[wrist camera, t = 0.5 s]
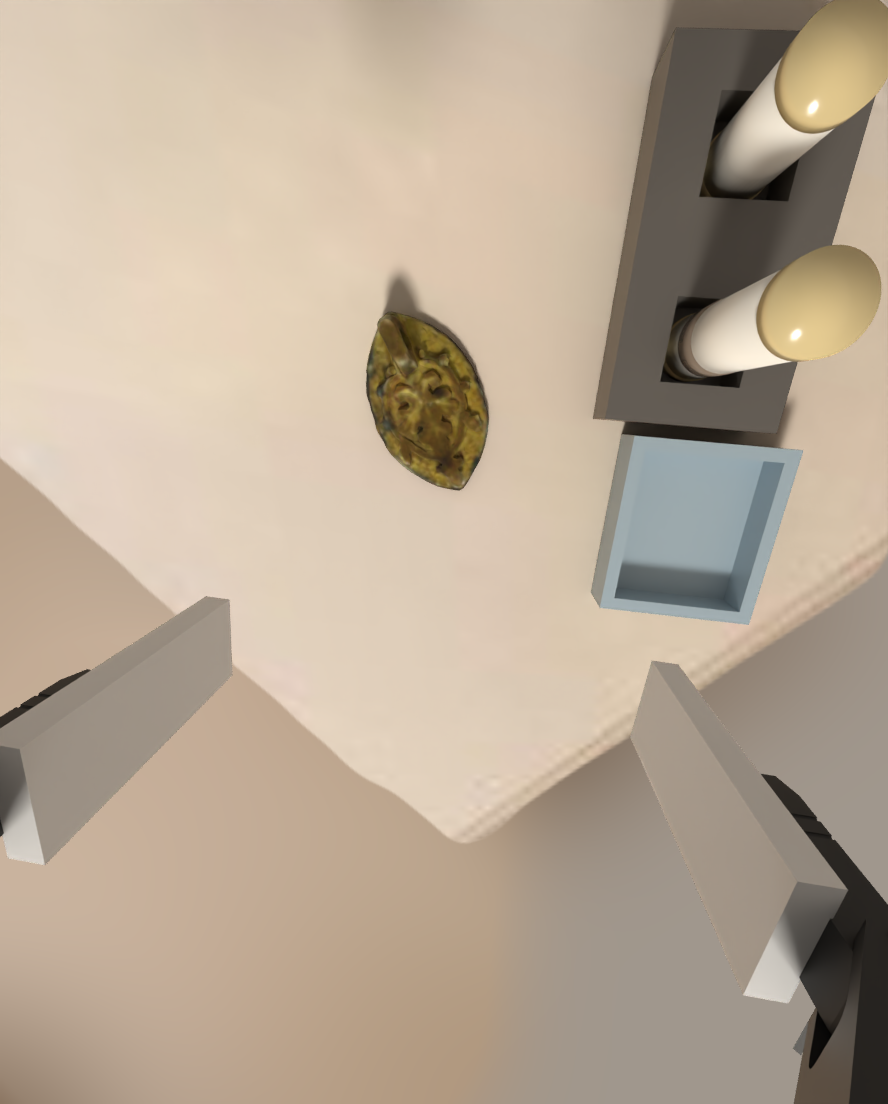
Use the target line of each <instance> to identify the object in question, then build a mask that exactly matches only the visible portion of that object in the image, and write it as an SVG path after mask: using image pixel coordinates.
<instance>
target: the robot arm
mask: <svg viewBox="0 0 888 1104" xmlns="http://www.w3.org/2000/svg"><path fill="white" fill-rule="evenodd" d="M231 676H232V653H231V628H230V603H229V600H228V599H221V598H214V597H207V596H206V597H204V598H203V599H201V600H200V601H198V602H197V603H195V604H194V605H192V606H190V607H189V608H187V609H186V610H184V611H183V612H181V613H180V614H178V615H176V616H175V617H173V618H172V619H170V620H169V621H167V622H166V623H164V624H162V625H161V626H159V627H158V628H156V629H155V630H153V631H151V632H150V633H148V634H147V635H145V636H144V637H142V638H141V639H139V640H138V641H136V642H134V643H133V644H132V645H130V646H128V647H127V648H125V649H123V650H122V651H120V652H119V653H117V654H116V655H114V656H112V657H111V658H109V659H108V660H106V661H105V662H103V663H102V664H100V665H98V666H97V667H95V668H94V669H92V670H88V669H87V670H84V671H82V672H79V673H77V674H74V675H72V676H69V677H67V678H64V679H61V680H59V681H58V682H56V683H55V684H53V685H52V686H50V687H48V688H47V689H45V690H43V691H42V692H40V693H39V695H38V696H34V697H32V698H30V699H29V700H27V701H26V702H24V703H22V704H21V706H20V707H19V708H17V707H16V708H14V709H13V710H11V711H9V712H8V713H6V714H5V715H3V716H1V717H0V836H3V840H4V844H5V848H6V852H7V855H8V858H10V859H15V860H21V861H26V862H31V863H36V864H42V865H45V864H46V863H47V862H48V861H49V860H50V859H51V858H52V857H53V856H54V855H55V854H56V853H57V852H58V851H59V850H60V849H61V848H62V847H63V846H64V845H65V844H66V843H67V842H68V841H69V840H70V839H71V838H72V837H73V836H74V835H75V834H76V833H77V832H78V831H79V830H80V829H81V828H82V827H83V826H84V825H85V824H86V823H87V822H88V821H89V820H90V819H91V818H92V817H93V816H94V815H95V814H96V813H97V812H98V811H99V810H100V809H101V808H102V806H104V805H105V804H106V803H107V802H108V801H109V800H110V799H111V798H112V797H113V795H114V794H116V793H117V792H118V791H119V789H120V788H121V787H122V786H123V785H124V784H125V783H126V782H127V781H128V780H129V779H130V778H131V777H132V776H133V775H134V774H135V773H136V772H137V771H138V770H139V769H140V768H141V767H142V766H143V765H144V764H145V763H146V762H147V761H148V760H149V759H150V758H151V757H152V756H153V755H154V754H155V753H156V752H157V751H158V750H159V749H160V748H161V747H162V746H163V745H164V744H165V743H166V742H167V741H168V740H169V739H170V738H171V737H172V736H173V735H174V734H175V733H176V732H177V731H178V730H179V729H180V728H181V727H182V726H183V725H184V723H186V722H187V720H189V719H190V718H191V717H192V716H193V714H194V713H195V712H196V711H197V710H198V709H199V708H200V707H201V706H202V705H203V704H204V703H205V702H206V701H207V700H208V699H209V698H210V697H211V696H212V695H213V694H214V693H215V692H216V691H217V690H218V689H219V688H220V687H221V686H222V685H223V684H224V683H225V682H226V681H227V680H228V679H229V678H230V677H231ZM630 737H631V739H632V742H633V744H634V747H635V749H636V751H637V753H638V756H639V758H640V760H641V763H642V765H643V767H644V769H645V771H646V774H647V776H648V779H649V781H650V783H651V785H652V787H653V790H654V792H655V795H656V797H657V799H658V801H659V803H660V806H661V808H662V811H663V813H664V815H665V817H666V820H667V822H668V824H669V827H670V829H671V831H672V834H673V836H674V838H675V840H676V843H677V845H678V847H679V850H680V852H681V854H682V856H683V859H684V861H685V863H686V866H687V868H688V870H689V872H690V875H691V877H692V879H693V882H694V884H695V886H696V888H697V890H698V893H699V895H700V898H701V900H702V902H703V904H704V907H705V909H706V911H707V913H708V916H709V918H710V920H711V923H712V925H713V927H714V929H715V932H716V934H717V937H718V939H719V941H720V943H721V946H722V948H723V950H724V952H725V955H726V957H727V959H728V962H729V964H730V966H731V968H732V971H733V973H734V975H735V978H736V980H737V982H738V985H739V987H740V989H741V991H742V994H743V995H745V996H751V997H756V998H761V999H768V1000H773V1001H777V1002H783V1003H789V1001H790V999H791V997H792V995H793V993H794V991H795V990H796V988H797V986H798V984H799V982H800V980H801V981H802V983H803V985H804V987H805V989H806V990H807V992H808V994H809V996H810V998H811V1000H812V1001H813V1003H814V1005H815V1007H816V1008H815V1010H814V1012H813V1014H812V1015H811V1017H810V1019H809V1021H808V1023H807V1025H806V1026H805V1028H804V1030H803V1032H802V1033H801V1035H800V1037H799V1039H798V1040H797V1042H796V1044H795V1046H794V1048H793V1049H794V1050H795V1051H797V1052H798V1053H799V1054H800V1055H801V1054H802V1053H803V1055H802V1061H801V1067H800V1073H799V1078H798V1084H797V1089H796V1095H795V1100H794V1104H888V904H887V903H886V902H885V901H884V899H883V898H882V897H881V896H880V895H879V893H878V892H877V891H876V890H875V888H874V887H873V886H872V885H871V883H870V882H869V881H868V880H867V879H866V877H865V876H864V875H863V874H862V872H861V871H860V870H859V869H858V868H857V866H856V865H855V864H854V863H853V861H852V860H851V859H850V858H849V856H848V855H847V854H846V853H845V851H844V850H843V849H842V848H841V847H840V845H839V844H838V843H837V842H836V841H835V840H832V838H831V834H830V833H829V832H828V831H827V829H826V828H825V827H824V826H823V824H822V823H821V822H819V821H817V817H816V816H815V815H814V813H813V812H812V811H811V810H810V808H809V807H808V806H807V805H806V803H805V802H804V801H803V800H802V799H801V797H800V796H799V795H798V794H796V793H795V792H794V791H793V790H791V789H790V788H789V787H788V786H787V785H785V784H784V783H783V782H782V781H781V780H779V779H778V778H777V777H776V776H771V775H764V774H760V773H759V771H758V770H757V769H756V767H755V766H754V765H753V763H752V762H751V761H750V759H749V758H748V757H747V755H746V754H745V753H744V751H743V750H742V749H741V747H740V746H739V745H738V744H737V742H736V741H735V739H734V738H733V737H732V735H731V734H730V733H729V731H728V730H727V729H726V727H725V726H724V725H723V723H722V722H721V721H720V720H719V718H718V717H717V716H716V714H715V713H714V712H713V710H712V709H711V708H710V706H709V705H708V704H707V702H706V701H705V700H704V698H703V697H702V696H701V695H700V693H699V692H698V690H697V689H696V688H695V686H694V685H693V684H692V682H691V681H690V680H689V678H688V677H687V676H686V674H685V673H684V672H683V670H682V669H681V668H680V666H679V665H678V664H671V663H664V662H657V661H652V662H651V665H650V669H649V673H648V676H647V680H646V683H645V687H644V690H643V694H642V697H641V701H640V704H639V708H638V711H637V715H636V718H635V722H634V725H633V729H632V732H631V736H630Z"/></svg>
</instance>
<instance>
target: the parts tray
mask: <svg viewBox="0 0 888 1104" xmlns="http://www.w3.org/2000/svg"><path fill="white" fill-rule="evenodd" d="M802 453H803V450H794V449H784V448H775V447H763V446H752V445H740V444H729V443H718V442H706V441H695V440H683V439H672V438H661V437H649V436H638V435H626V434H622V436H621V441H620V446H619V451H618V456H617V461H616V467H615V472H614V477H613V482H612V487H611V492H610V497H609V503H608V508H607V513H606V518H605V523H604V528H603V534H602V539H601V544H600V549H599V554H598V559H597V565H596V570H595V575H594V580H593V585H592V590H591V593H592V595H593V597H594V599H595V600H596V602H597V604H598V605H599V607H600V608H606V609H615V610H624V611H632V612H641V613H650V614H659V615H668V616H676V617H685V618H694V619H703V620H711V621H720V622H729V623H738V624H746V625H749V622H750V619H751V616H752V613H753V610H754V606H755V603H756V600H757V597H758V594H759V590H760V587H761V584H762V581H763V578H764V574H765V571H766V568H767V565H768V562H769V558H770V555H771V552H772V549H773V546H774V543H775V539H776V536H777V533H778V530H779V527H780V523H781V520H782V517H783V514H784V511H785V507H786V504H787V501H788V498H789V495H790V491H791V488H792V485H793V482H794V479H795V475H796V472H797V469H798V466H799V463H800V460H801V456H802Z"/></svg>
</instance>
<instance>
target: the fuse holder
mask: <svg viewBox="0 0 888 1104" xmlns="http://www.w3.org/2000/svg"><path fill="white" fill-rule="evenodd" d="M799 32H800V31H786V30H748V29H710V28H676V29H675V31H674V33H673V35H672V37H671V39H670V41H669V43H668V46H667V48H666V50H665V52H664V54H663V56H662V58H661V60H660V62H659V64H658V66H657V69H656V71H655V73H654V75H653V77H652V82H651V88H650V94H649V99H648V105H647V111H646V117H645V122H644V128H643V134H642V140H641V145H640V151H639V157H638V163H637V168H636V174H635V180H634V186H633V191H632V197H631V203H630V209H629V214H628V220H627V226H626V232H625V237H624V243H623V249H622V255H621V260H620V266H619V272H618V278H617V283H616V289H615V295H614V301H613V306H612V312H611V318H610V324H609V329H608V335H607V341H606V347H605V352H604V358H603V364H602V370H601V375H600V381H599V387H598V393H597V398H596V404H595V410H594V416H593V419H602V420H614V421H625V422H637V423H649V424H660V425H672V426H684V427H695V428H707V429H719V430H730V431H742V432H758V433H776V434H777V431H778V427H779V424H780V420H781V417H782V414H783V410H784V407H785V403H786V400H787V396H788V393H789V390H790V386H791V383H792V379H793V376H794V373H795V369H796V366H797V362H787V363H781V364H776V365H770V366H765V367H760V368H754V369H749V370H743V371H738V372H734V373H731V374H726V375H721V376H715V377H706V378H704V379H701V380H697V381H692V382H680V381H676V380H674V379H672V378H670V377H669V376H668V375H667V374H666V373H665V372H664V371H663V365H664V361H665V356H666V351H667V347H668V342H669V337H670V332H671V328H672V325H673V324H674V323H675V322H676V321H678V320H680V319H682V318H684V317H685V316H688V315H690V314H693V313H696V312H698V311H699V310H701V309H703V308H705V307H707V306H708V305H710V304H712V303H714V302H716V301H718V300H721V299H724V298H726V297H728V296H730V295H732V294H734V293H736V292H738V291H740V290H742V289H744V288H746V287H748V286H750V285H752V284H754V283H756V282H757V281H759V280H761V279H763V278H765V277H767V276H769V275H771V274H773V273H775V272H777V271H779V270H781V269H782V268H783V267H785V266H786V265H788V264H789V263H791V262H792V261H794V260H796V259H798V258H800V257H802V256H804V255H806V254H808V253H809V252H811V251H814V250H816V249H819V248H822V247H825V246H831V245H832V243H833V239H834V236H835V233H836V229H837V226H838V222H839V219H840V215H841V212H842V209H843V205H844V202H845V198H846V195H847V192H848V188H849V185H850V181H851V178H852V174H853V171H854V168H855V164H856V161H857V157H858V154H859V151H860V147H861V144H862V140H863V137H864V133H865V130H866V127H867V123H868V120H869V116H870V113H871V110H872V106H873V103H874V99H875V96H876V95H875V96H874V98H873V99H872V100H871V101H870V102H869V103H867V104H866V105H865V106H864V107H863V108H862V109H860V110H859V111H858V112H857V113H856V114H854V115H853V116H852V117H851V118H850V119H848V120H847V121H846V122H844V123H843V124H841V125H840V126H838V127H836V128H834V129H833V130H832V131H831V132H830V133H828V134H827V135H826V136H825V137H824V138H823V139H821V140H820V141H819V142H818V143H817V144H815V145H814V146H813V147H812V148H811V149H809V150H808V151H807V152H806V153H805V154H803V155H802V156H801V157H800V158H799V159H797V160H796V161H795V162H794V163H793V164H791V165H790V166H789V167H788V168H787V169H786V170H784V171H783V172H782V173H781V174H780V175H778V176H777V177H776V178H775V179H774V180H772V181H771V182H770V183H769V184H768V185H766V186H765V188H764V189H763V190H762V191H761V192H760V193H759V194H758V195H757V196H756V197H754V198H753V199H752V200H750V199H730V198H711V197H699V195H700V190H701V186H702V181H703V176H704V171H705V167H706V162H707V157H708V153H709V148H710V143H711V142H712V140H713V139H714V138H715V137H716V136H717V135H718V134H719V133H720V132H721V131H722V130H723V129H724V128H725V127H726V126H727V124H728V123H729V122H730V121H731V119H732V118H733V117H734V116H735V114H736V113H737V112H738V111H739V110H740V108H741V107H742V106H743V105H744V103H745V102H746V101H747V100H748V98H749V97H750V96H751V95H752V94H753V92H754V91H755V90H756V89H757V87H758V86H759V85H760V84H761V82H762V81H763V80H764V79H765V78H766V76H767V75H768V74H769V73H770V71H771V70H772V69H773V68H774V66H775V65H776V64H777V63H778V61H779V60H780V59H781V58H782V57H783V55H784V53H785V51H786V50H787V48H788V47H789V45H790V43H791V42H792V41H793V40H794V38H795V37H796V36H797V35H798V33H799Z"/></svg>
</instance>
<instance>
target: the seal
mask: <svg viewBox="0 0 888 1104" xmlns="http://www.w3.org/2000/svg"><path fill="white" fill-rule="evenodd" d="M377 326H378V330H377V333H376V335H375V338H374V341H373V343H372V346H371V350H370V354H369V358H368V362H367V370H366V372H367V381H366V388H367V389H366V392H367V397H368V400H369V403H370V406H371V411H372V414H373V417H374V420H375V425H376V429H377V431H378V433H379V435H380V436H381V438H382V440H383V441H384V443H385V446H386V448H387V449H388V451H389V452H390V453H391V455H392V456H393V457H394V458H395V459H396V460H397V461H398V462H399V463H400V464H401V465H403V466H404V467H405V468H406V469H408V470H409V471H410V472H412V473H414V474H415V475H417V476H419V477H420V478H422V479H424V480H425V481H427V482H429V483H431V484H434V485H436V486H439V487H442V488H447V489H453V490H461V489H462V488H464V486H465V485H466V484H467V482H468V480H469V479H470V477H471V475H472V473H473V471H474V469H475V468H476V466H477V464H478V463H479V461H480V458H481V456H482V453H483V450H484V446H485V442H486V437H487V432H488V413H487V409H486V405H485V401H484V397H483V393H482V389H481V386H480V383H479V381H478V378H477V376H476V374H475V371H474V369H473V367H472V365H471V364H470V362H469V361H468V359H467V358H466V356H465V355H464V353H463V352H462V351H461V349H460V348H459V347H458V346H457V345H456V344H455V343H454V342H453V341H452V340H451V339H450V338H449V337H448V336H447V335H445V334H444V333H442V332H441V331H440V330H438V329H437V328H435V327H433V326H432V325H430V324H428V323H426V322H424V321H421V320H419V319H416V318H413V317H410V316H406V315H403V314H399V313H394V312H388V313H386V314H385V316H383V317H382V318H380V319H379V321H378V324H377Z"/></svg>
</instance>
